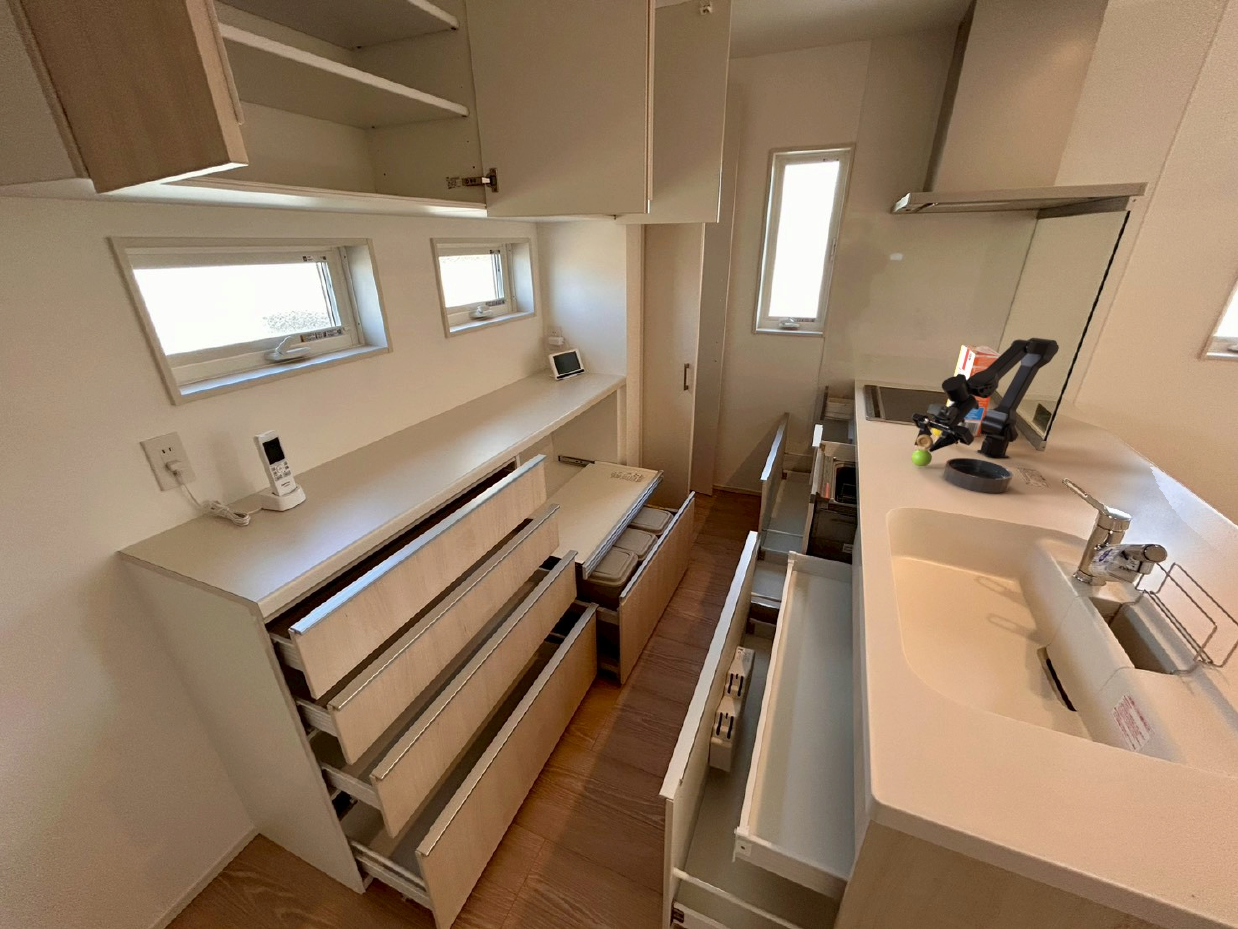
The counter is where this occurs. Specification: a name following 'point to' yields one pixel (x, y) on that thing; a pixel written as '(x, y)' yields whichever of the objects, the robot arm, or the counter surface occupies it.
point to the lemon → (936, 432)
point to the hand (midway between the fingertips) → (922, 448)
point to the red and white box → (968, 365)
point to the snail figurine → (923, 450)
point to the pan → (977, 475)
